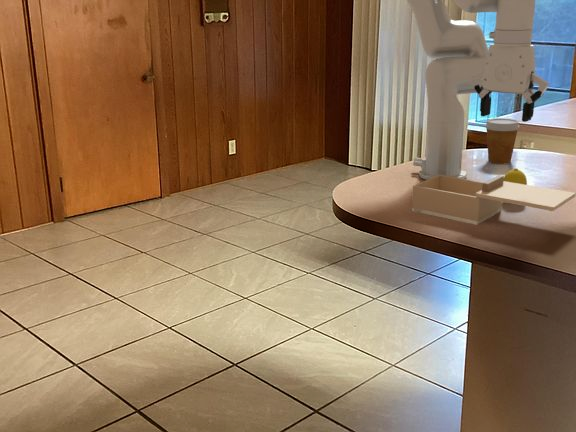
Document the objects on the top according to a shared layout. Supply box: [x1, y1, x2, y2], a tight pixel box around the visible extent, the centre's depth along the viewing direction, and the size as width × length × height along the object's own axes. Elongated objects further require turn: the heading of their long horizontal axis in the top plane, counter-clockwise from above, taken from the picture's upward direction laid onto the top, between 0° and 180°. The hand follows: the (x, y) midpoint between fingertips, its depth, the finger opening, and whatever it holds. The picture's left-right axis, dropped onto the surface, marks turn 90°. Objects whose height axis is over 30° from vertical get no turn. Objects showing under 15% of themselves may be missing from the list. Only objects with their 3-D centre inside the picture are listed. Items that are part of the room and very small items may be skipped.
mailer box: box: [411, 175, 503, 226], centre depth 149 cm, size 16×12×6 cm
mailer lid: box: [475, 174, 576, 212], centre depth 138 cm, size 16×12×3 cm
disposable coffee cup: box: [484, 118, 521, 165], centre depth 191 cm, size 10×10×12 cm
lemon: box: [503, 167, 528, 185], centre depth 155 cm, size 6×6×8 cm
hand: (505, 118), depth 145 cm, fingers open, 9 cm apart
